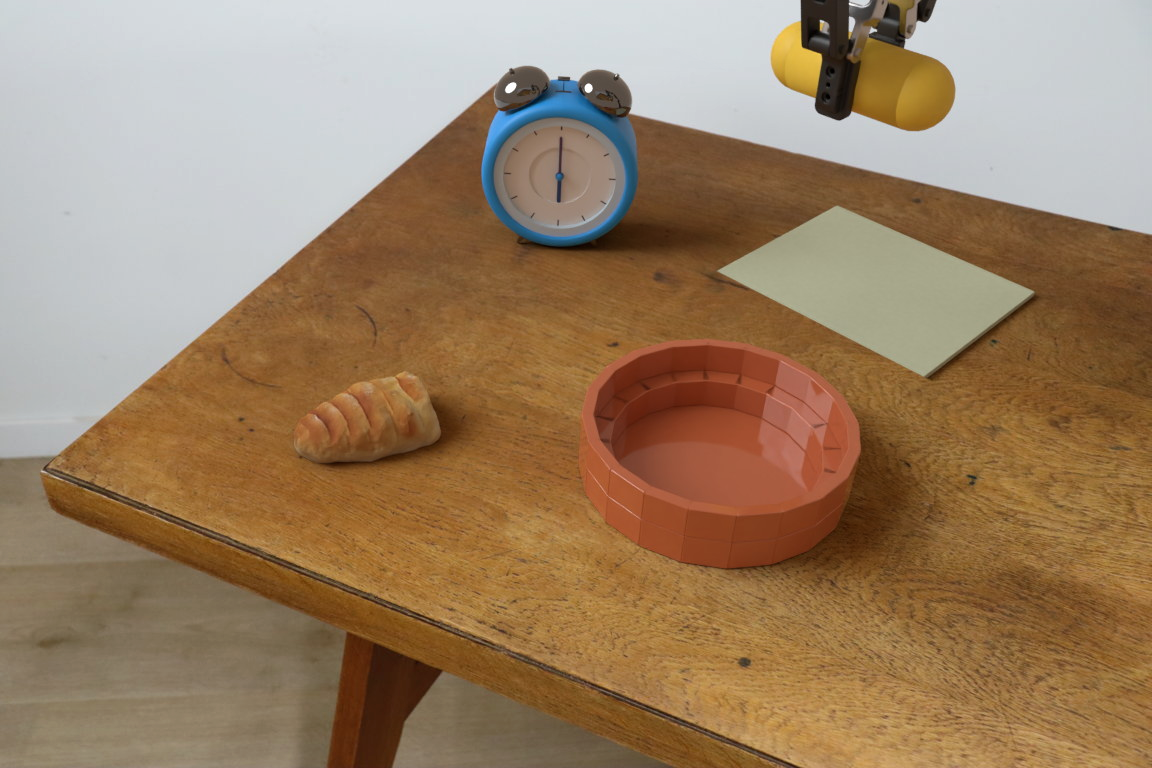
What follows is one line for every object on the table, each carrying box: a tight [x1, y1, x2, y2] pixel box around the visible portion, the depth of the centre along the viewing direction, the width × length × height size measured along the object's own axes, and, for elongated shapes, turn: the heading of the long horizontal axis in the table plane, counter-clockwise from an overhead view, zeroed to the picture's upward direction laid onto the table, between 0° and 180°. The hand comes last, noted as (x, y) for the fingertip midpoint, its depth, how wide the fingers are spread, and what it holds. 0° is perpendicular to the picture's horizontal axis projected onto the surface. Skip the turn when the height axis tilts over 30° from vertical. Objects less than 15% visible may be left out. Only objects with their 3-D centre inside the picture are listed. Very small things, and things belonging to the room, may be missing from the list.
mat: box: [717, 205, 1036, 379], centre depth 93 cm, size 20×20×1 cm
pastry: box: [293, 370, 442, 464], centre depth 74 cm, size 9×7×4 cm
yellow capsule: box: [770, 20, 957, 132], centre depth 68 cm, size 12×4×4 cm, turn 46°
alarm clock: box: [480, 65, 639, 248], centre depth 94 cm, size 13×6×15 cm, turn 88°
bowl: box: [577, 338, 862, 570], centre depth 72 cm, size 18×18×5 cm
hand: (854, 103), depth 69 cm, fingers closed on yellow capsule, 4 cm apart
